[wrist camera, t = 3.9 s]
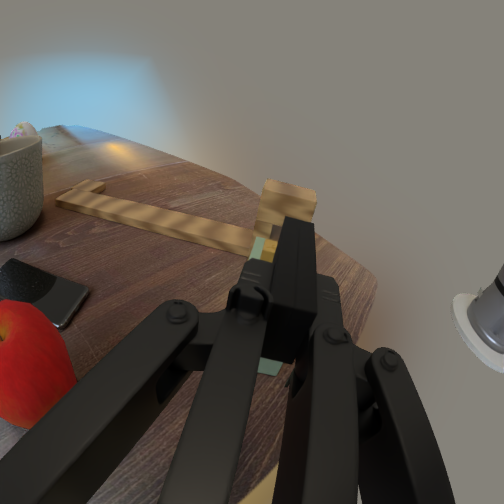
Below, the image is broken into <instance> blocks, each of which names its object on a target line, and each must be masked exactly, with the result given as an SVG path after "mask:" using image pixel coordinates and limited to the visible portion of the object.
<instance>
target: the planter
mask: <svg viewBox="0 0 504 504" xmlns="http://www.w3.org/2000/svg"><path fill="white" fill-rule="evenodd" d="M43 200H44V195H43V175H42V138H41V137H40V136H37V135H27V136H19V137H13V138H9V139H5V140H1V141H0V242H2V241H7V240H11V239H13V238H16V237H18V236H20V235H21V234H23V233H25V232H26V231H27V230H28V229H29V228H30V227H31V226H32V225H33V224H34V223H35V222H36V220H37V219H38V217H39V215H40V213H41V210H42V207H43Z"/></svg>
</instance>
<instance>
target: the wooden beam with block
mask: <svg viewBox="0 0 504 504" xmlns="http://www.w3.org/2000/svg"><path fill="white" fill-rule="evenodd" d="M105 189H106V183H104V182H99V181H93V180H88V179H87V180H85V181H83V182H81V183H79V184H77V185H75V186H73V187H71V190H70V191H68V192H66V193H65V194H63V195H61V196H59V197H58V198H56V199H55V203H56V206H58V207H61V208H65V209H69V210H73V211H76V212H80V213H84V214H87V215H91V216H95V217H99V218H102V219H106V220H110V221H113V222H117V223H121V224H125V225H128V226H132V227H136V228H140V229H144V230H147V231H151V232H155V233H159V234H162V235H166V236H170V237H174V238H178V239H181V240H185V241H189V242H193V243H197V244H201V245H204V246H208V247H212V248H216V249H220V250H224V251H227V252H231V253H235V254H239V255H243V256H247V257H248V258H247V261H248V260H249V257H250V254H251V251H252V248H253V245H254V243H255V240H256V237H261V238H265V239H269V240H273V241H277V242H278V240H279V236H280V233H281V229H282V227H280V226H282V225H283V222H284V218H285V216H288V217H292V218H295V219H299V220H303V221H307V222H310V223H311V220H312V217H313V214H314V210H315V207H316V204H317V200H316V192H315V191H314V190H310V189H306V188H303V187H299V186H296V185H292V184H287V183H284V182H280V181H276V180H272V179H267V181H266V183H265V185H264V187H263V190H262V194H261V199H260V203H259V208H258V212H257V217H256V221H255V226H254V230H250V229H246V228H242V227H238V226H234V225H230V224H226V223H222V222H218V221H213V220H209V219H205V218H201V217H197V216H193V215H189V214H184V213H180V212H176V211H172V210H167V209H163V208H159V207H154V206H150V205H146V204H141V203H137V202H132V201H128V200H124V199H119V198H115V197H110V196H105V195H101V194H98V193H100V192H102V191H103V190H105ZM273 224H275V225H273ZM277 225H279V226H277Z"/></svg>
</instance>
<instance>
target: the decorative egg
mask: <svg viewBox="0 0 504 504" xmlns="http://www.w3.org/2000/svg"><path fill="white" fill-rule="evenodd" d="M27 135H37V136H38V134H37V132H36V130H35V128H34V127H33V126H32V125H31V124H30V123H28V122H21V123H19V124H18V125H17V126H16V127H15V128H14V129H13V131H12V133H11V134H10V137H9V138H13V137H19V136H27Z"/></svg>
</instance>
